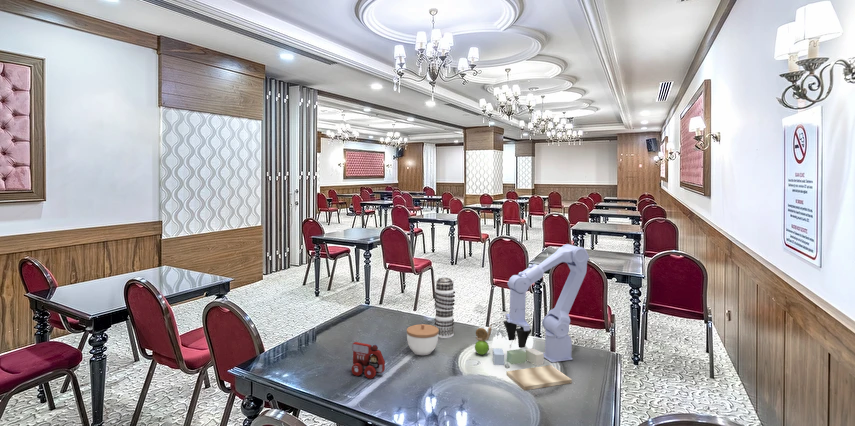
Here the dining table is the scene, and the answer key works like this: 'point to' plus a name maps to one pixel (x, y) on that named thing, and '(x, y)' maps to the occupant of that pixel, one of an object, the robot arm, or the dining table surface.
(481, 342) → the snail figurine
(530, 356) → the ivory brick
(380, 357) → the toy fire truck
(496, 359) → the blue brick
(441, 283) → the banded tower model
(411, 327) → the lidded bowl
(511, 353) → the green brick
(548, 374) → the birch board
